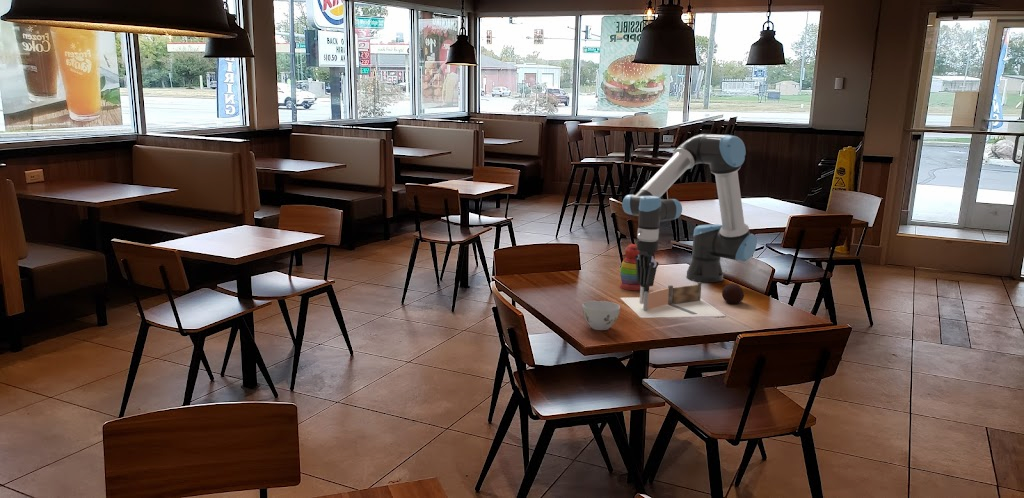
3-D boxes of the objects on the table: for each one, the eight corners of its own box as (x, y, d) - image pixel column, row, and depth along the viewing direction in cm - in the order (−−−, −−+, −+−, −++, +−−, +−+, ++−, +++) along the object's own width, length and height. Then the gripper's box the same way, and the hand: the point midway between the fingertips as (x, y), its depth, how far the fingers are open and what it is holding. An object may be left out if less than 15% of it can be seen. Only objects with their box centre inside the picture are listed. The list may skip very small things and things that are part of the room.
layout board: (697, 297, 294) (697, 295, 294) (725, 317, 269) (725, 315, 268) (619, 299, 289) (619, 297, 289) (640, 319, 264) (641, 317, 264)
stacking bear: (646, 291, 302) (649, 247, 298) (621, 290, 302) (623, 246, 298) (642, 284, 312) (645, 241, 309) (617, 283, 313) (620, 241, 309)
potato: (727, 307, 281) (729, 287, 280) (716, 300, 290) (718, 281, 289) (747, 307, 283) (749, 286, 281) (736, 300, 292) (738, 280, 290)
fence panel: (665, 303, 281) (666, 286, 280) (668, 304, 280) (669, 287, 279) (642, 309, 273) (643, 291, 271) (645, 310, 272) (646, 292, 270)
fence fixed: (698, 299, 289) (699, 281, 288) (701, 300, 288) (702, 282, 286) (665, 303, 282) (667, 285, 281) (669, 305, 281) (670, 286, 279)
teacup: (626, 331, 251) (627, 308, 249) (593, 335, 246) (594, 311, 244) (602, 318, 264) (603, 296, 262) (571, 322, 259) (572, 299, 257)
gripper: (629, 236, 276) (626, 299, 281) (647, 243, 264) (643, 309, 269) (647, 235, 278) (643, 297, 283) (666, 242, 266) (662, 307, 271)
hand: (643, 303), depth 276 cm, fingers closed
